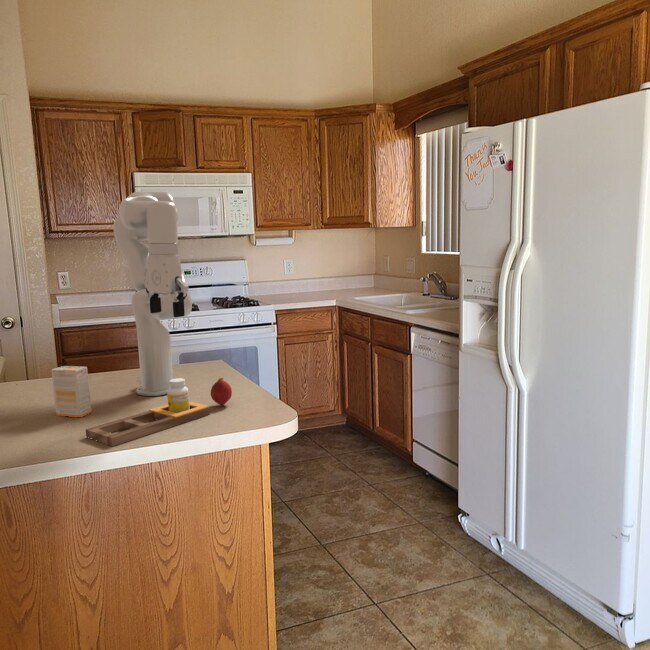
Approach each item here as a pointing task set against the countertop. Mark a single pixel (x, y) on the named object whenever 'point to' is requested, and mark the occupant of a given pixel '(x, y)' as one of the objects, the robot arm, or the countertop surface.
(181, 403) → the supplement bottle
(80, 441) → the countertop surface
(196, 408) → the socket rail
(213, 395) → the onion
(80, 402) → the supplement box
